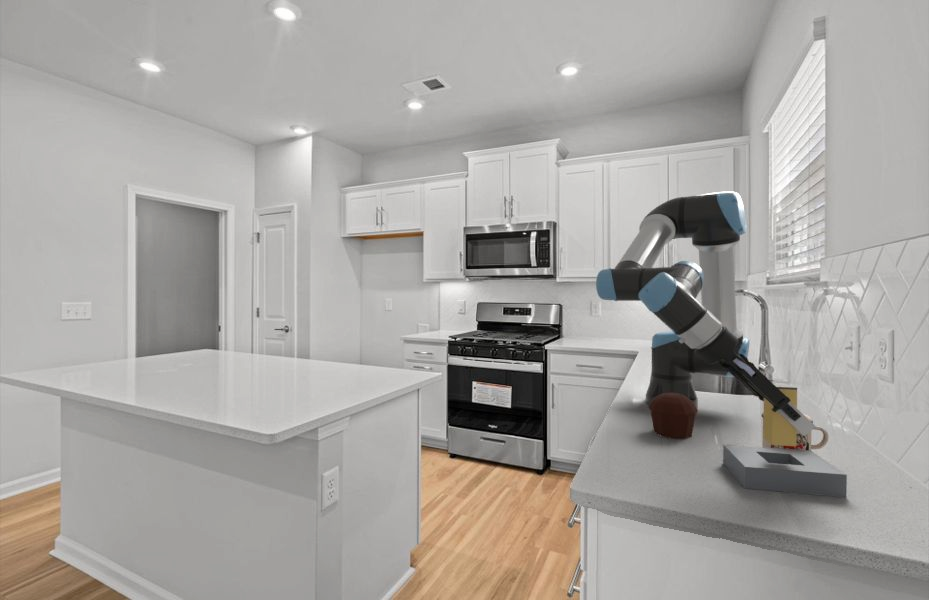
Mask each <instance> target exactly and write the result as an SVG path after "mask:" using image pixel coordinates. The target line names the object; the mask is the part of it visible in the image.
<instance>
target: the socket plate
mask: <svg viewBox="0 0 929 600" xmlns="http://www.w3.org/2000/svg"><path fill="white" fill-rule="evenodd" d="M722 446H723V449H722V451H723V452H722V455H723V456H722V464H723V465H724V466H725V467H726V469H728V471H729V472H730V473H731V474H732V476H734V478H736V480H737V481H738V482H739V484H740V485H741V486H742V487H743V488H744V489H748V490H749V489H750V490H762V491H771V492H773V491H774V492H783V493H795V494H805V495H806V494H807V495H817V496H826V497H827V496H830V497H839V498H840V497H841V498H847V492H848V491H847V484H848V483H847V479H848V477H847V476H848V474H847V473H845V472H843V471H842V470H841V469H840V468H838V467H836V466H835V465H833V464H831V462H829V461H827V460H826V459H824V458H823V457H821V456H820V455H818V454H817V453H815V452H814V451H812V450H811V451H810V450H795V449H780V448H766V447H762V446H749V445H733V444H723V445H722Z"/></svg>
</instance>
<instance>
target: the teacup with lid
mask: <svg viewBox="0 0 929 600" xmlns="http://www.w3.org/2000/svg"><path fill="white" fill-rule="evenodd" d="M802 414H803V415H804V416H805V417H807V418H808V419H809V420H810V421H811V422H812V423H813V424H814V421H813V419H812V417H811V416H809V415H808V414H805V413H802ZM763 416H764V411H762V413H761V418H763ZM815 426H816V427H815V428H814V429H813V430H814V431H815V430H817V431H821V432H822V440H821V441H820V442H819V443H817V444H812V430H811V431H810V432H809V433H807V434H806V435H805V436H803V435H802V434H801V433H800V432H799V431H797V436H796V446H783V445H772V444H771V443H769V442H768V441H767V440H765V439H764V438H763V437H762V440H761V441H762V443H761V445H762V446H761V447H766V448H780V449H795V450H810V451H812V450H820V449H822V448H824V447H825V446H826V445H827V444H828V443H829V434H828V431H827V430H826V429H825V428H823V427H821V426H818V425H815Z"/></svg>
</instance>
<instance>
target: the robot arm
mask: <svg viewBox="0 0 929 600" xmlns="http://www.w3.org/2000/svg"><path fill="white" fill-rule="evenodd" d="M746 218H747V217H746V212H745V206H744V203H743V200H742V198H741V195H740V194H739V193H738V192H735V191H717V192H711V193H704V194H697V195H690V196H679V197H675V198H672V199H669V200H667V201H665V202H663V203H661V204H660V205H657V206H656V207H655V208H654V209H652V210H651V211H649V212H648V214H646V216H644V218H643V219H642V221H641V222H640V224H639V228H638V230H639V231H638V233H637V234H636V236H635V237H634V239H633V240H632V242H631V243H630V245H629V247H628V248H627V250H626V251H625V252H624V254H623V255H622V257H621V258H620V260H619V262H617V264H616V266H615V267H614V268H611V267H610V268H607V269H606V268H605V269H602V270H600V271H598V273H597V275H596V281H595V288H596V292H597V296H598V297H599V298H600V299H601V300H604V301H615V302H621V301H623V302H630V301H631V302H633V301H635V302H639V301H641V303H642V304H643V305H644V306H645V307H646V308H647V309H648V311H650V312H651V313H652V314H653V315H655V316H656V317H657V318H658V319H659V320H660V321H661V322H662V323H663V324H664V325H665V326H667V328H669V329H670V331H662V332H658V333H655V334H654V335H653V336H652V338H651V347H650V349H651V379H650V381H649V385H648V388H647V390H646V393H645V403H646V404H648V403H650V402H651V401H652V399H653V398H655V397H656V396H658V395H660V394H663V393H678V394H682V395H684V396H686V397H688V398H689V399H690V400H692V402H693V403H694V405H695V406H696V408H697V409H698V406H699V400H698V399H699V398H698V396H697V392H696V390H695V387H694V383H693V379H692V377H693V374H696V375H697V374H698V375H708V376H716V377H724V378H727V377H728V378H736V379H737V381H739V382H740V383H741V384H742V385H743V386H744V387H745V388H746V389H747V390H748V391H750V393H751V394H752V395H753V396H754V397H756V398H758V400H760V401H762V402H764V398H765V399H766V400H767V401H768V402H769V403H771V404H772V405H773V406H774V408H773V409H771V410H772V411H773V412H776V411H777V412H778V413H779V414H781V415H782V416H783V417H784V418H785V419H786V420H787V421H788V422H789V423H790V424H791V425H792V426H793V427H794V428H795V429H796V430H797V431H799V432H800V433H801V434H802V435H803V436H805V435H806V434H807V433H809V432H810V431H811V432H812V431H813V430H815V429H814V428H815V427H816V426H817V425H816V424H814V422H813V423H812V422H811V421H810V420H809V419H808V418H807V417H805V416H804V415H803V414H804V413H803V412H801V410H800V409H798V407H797V408H796V407H795V406H794V405H793V404H792V403H790V401H791V400H790V399H789V398H788V397H787V396H785V395H784V394H783V393H782V392H781V391H780V390H779V389H778V388H777V387H776V386H775V385H774V384H773V383H774V382H772V381H771V380H770V379H769V378H767V376H766V375H764V374H763V373H762V371H760V370H759V369H758V368H757V366H755V364H754V363H753V362H751V361H749V359H748V357H749V352H750V351H749V350H750V339H749V338H746V337H744V332H743V330H741V328H739V327H738V325H737V305H736V303H737V302H736V277H735V276H736V275H735V252H734V251H735V250H734V249H735V248H734V247H735V246H736V245H737V244H738V243H739V242H740V241H741V236H742V235H744V234H745V233H746V232H747V219H746ZM688 238H689V239H690V238H691V241H692V242H691V243H692V245H693V247H694V248H696V249H697V250H698V257H699V258H698V259H699V260H698V261H699V264H698V263H696V262H693V261H690V260H681V261H677V262H676V263H674V264H673V265H671V266H670V267H667V266H664V267H654V265H655V264H656V261H657V260H658V258H659V256H660V255H661V252H662V250H663V249H664V247H665V245H667V244H669V243H670V242H672V240H676V239H677V240H678V239H688ZM699 293H700V295H701V297H700V298H701V303H700V302H699V301H698V300H697V297H698V295H699Z"/></svg>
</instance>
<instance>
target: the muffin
mask: <svg viewBox="0 0 929 600" xmlns="http://www.w3.org/2000/svg"><path fill="white" fill-rule="evenodd" d="M647 404H648V403H647ZM647 407H648V409H649V410H650V416H651V423H652V429H654V430H653V432H654V434H655V433H656V434H655V435H658V434H659V435H658V436H660V435H661V436H660V437H662V438H667V439H668V438H669V439H674V440H679V439H681V440H686V439H688V438H692V436H693V430H694V425H695V421H696V415H697V413H698V412H699V410H698V407H697V408H696V406H695V405H694V403H693V402H692V400H690V399H689V398H688V397H686V396H684V395H682V394H678V393H663V394H660V395H658V396H656V397H655V398H653V399H652V401H651V402H650V403H649V404H648V405H647Z"/></svg>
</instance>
